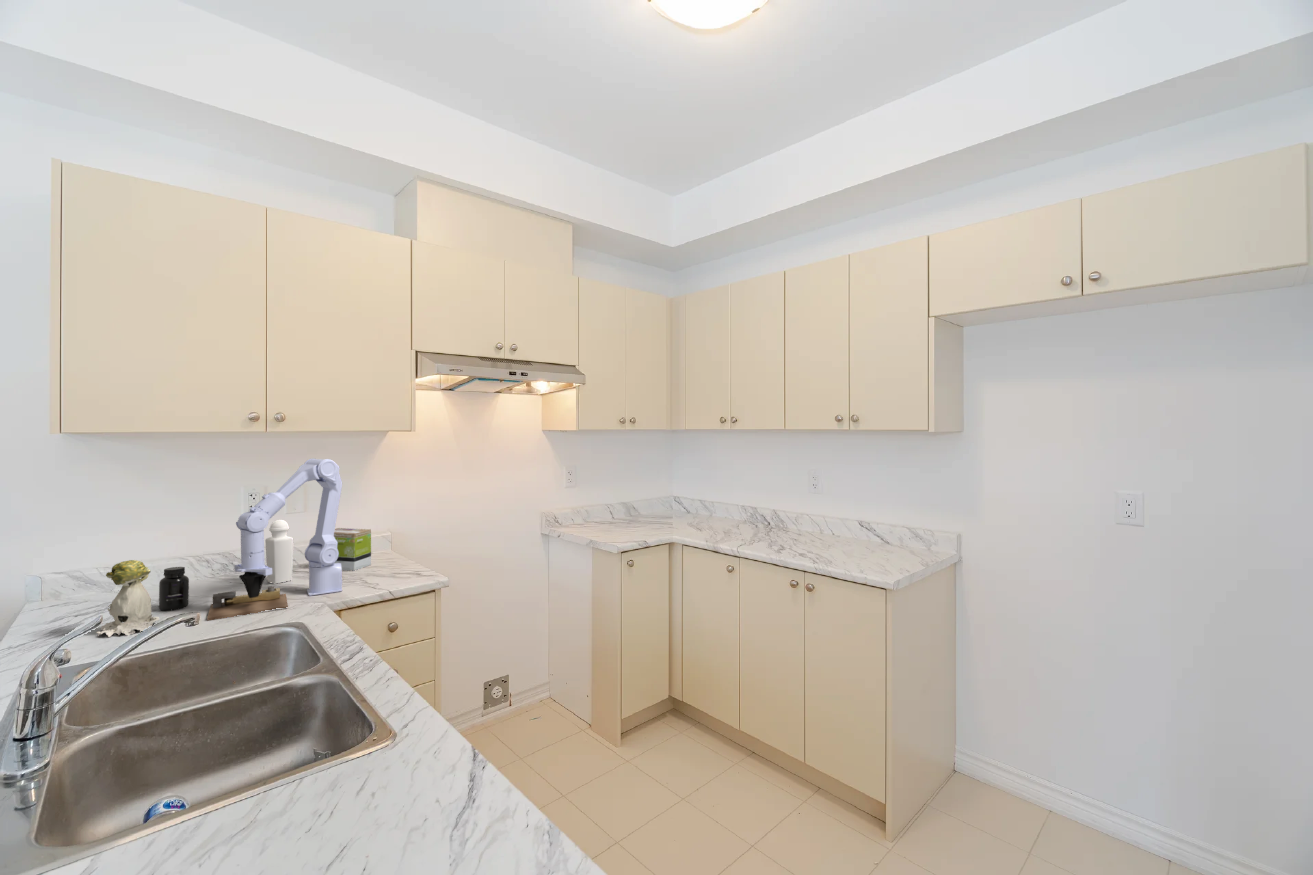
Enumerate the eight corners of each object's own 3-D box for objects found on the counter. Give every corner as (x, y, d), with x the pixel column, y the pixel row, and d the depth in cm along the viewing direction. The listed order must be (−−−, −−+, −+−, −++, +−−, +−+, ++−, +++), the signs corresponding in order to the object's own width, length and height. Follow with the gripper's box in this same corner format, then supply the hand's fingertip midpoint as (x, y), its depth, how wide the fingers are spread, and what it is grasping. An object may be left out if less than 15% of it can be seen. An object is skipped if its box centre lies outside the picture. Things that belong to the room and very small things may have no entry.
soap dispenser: (294, 580, 202) (293, 519, 201) (274, 584, 196) (273, 521, 196) (285, 578, 205) (284, 517, 205) (265, 582, 200) (264, 520, 199)
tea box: (319, 569, 218) (319, 531, 218) (338, 563, 228) (338, 527, 227) (354, 571, 215) (354, 532, 215) (372, 565, 225) (371, 528, 225)
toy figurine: (160, 618, 161) (160, 553, 161) (158, 630, 151) (157, 561, 151) (102, 627, 153) (101, 559, 153) (95, 640, 143) (94, 568, 143)
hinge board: (285, 595, 182) (285, 582, 182) (288, 608, 169) (287, 593, 169) (211, 606, 171) (210, 592, 171) (207, 620, 158) (207, 605, 158)
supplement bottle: (171, 612, 166) (171, 571, 166) (152, 610, 168) (152, 570, 168) (194, 605, 173) (194, 566, 173) (176, 603, 174) (176, 565, 174)
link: (280, 595, 180) (279, 587, 180) (279, 598, 176) (279, 590, 176) (224, 602, 172) (224, 594, 172) (223, 606, 168) (223, 598, 168)
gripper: (223, 552, 169) (224, 598, 169) (254, 556, 163) (255, 603, 163) (248, 548, 175) (249, 591, 175) (279, 551, 169) (279, 596, 170)
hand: (253, 596), depth 170 cm, fingers closed
